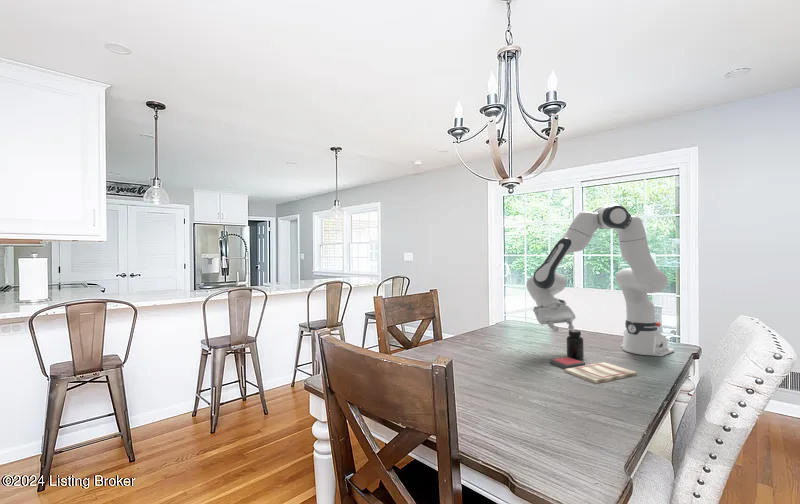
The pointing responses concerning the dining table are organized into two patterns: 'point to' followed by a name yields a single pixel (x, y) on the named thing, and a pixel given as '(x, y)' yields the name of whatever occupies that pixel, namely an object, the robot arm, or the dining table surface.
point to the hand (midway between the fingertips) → (564, 329)
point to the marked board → (600, 372)
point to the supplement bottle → (575, 345)
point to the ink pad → (567, 362)
